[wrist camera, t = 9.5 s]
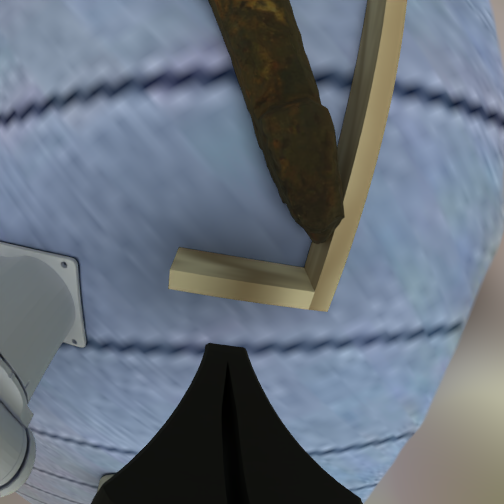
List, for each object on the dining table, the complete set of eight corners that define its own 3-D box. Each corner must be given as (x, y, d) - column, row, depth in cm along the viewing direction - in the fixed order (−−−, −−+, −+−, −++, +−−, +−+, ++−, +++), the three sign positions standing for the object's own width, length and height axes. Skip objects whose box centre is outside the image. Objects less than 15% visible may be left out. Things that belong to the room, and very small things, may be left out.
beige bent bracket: (177, 264, 19) (168, 288, 16) (255, -84, 10) (258, -109, 7) (316, 286, 20) (327, 311, 18) (390, -44, 11) (410, -61, 8)
